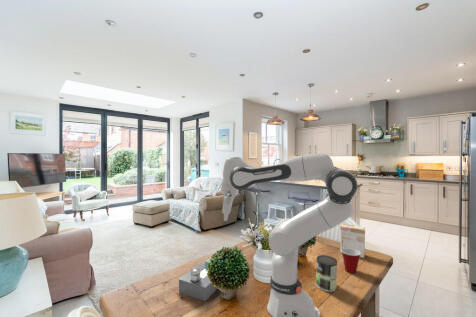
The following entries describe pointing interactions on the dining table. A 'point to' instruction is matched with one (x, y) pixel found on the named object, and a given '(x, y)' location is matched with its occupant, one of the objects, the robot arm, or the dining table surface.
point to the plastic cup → (350, 259)
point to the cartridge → (205, 270)
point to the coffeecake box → (353, 238)
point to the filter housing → (196, 286)
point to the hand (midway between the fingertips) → (226, 217)
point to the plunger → (195, 275)
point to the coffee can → (326, 273)
